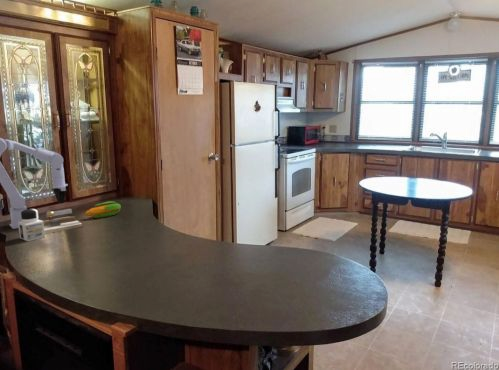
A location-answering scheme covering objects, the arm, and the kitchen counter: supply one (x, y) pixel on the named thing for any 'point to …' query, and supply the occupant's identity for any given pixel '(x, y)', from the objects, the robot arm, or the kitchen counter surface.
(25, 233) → the container
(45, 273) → the kitchen counter surface
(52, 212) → the bar
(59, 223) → the brown-striped cream panel
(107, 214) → the corn
